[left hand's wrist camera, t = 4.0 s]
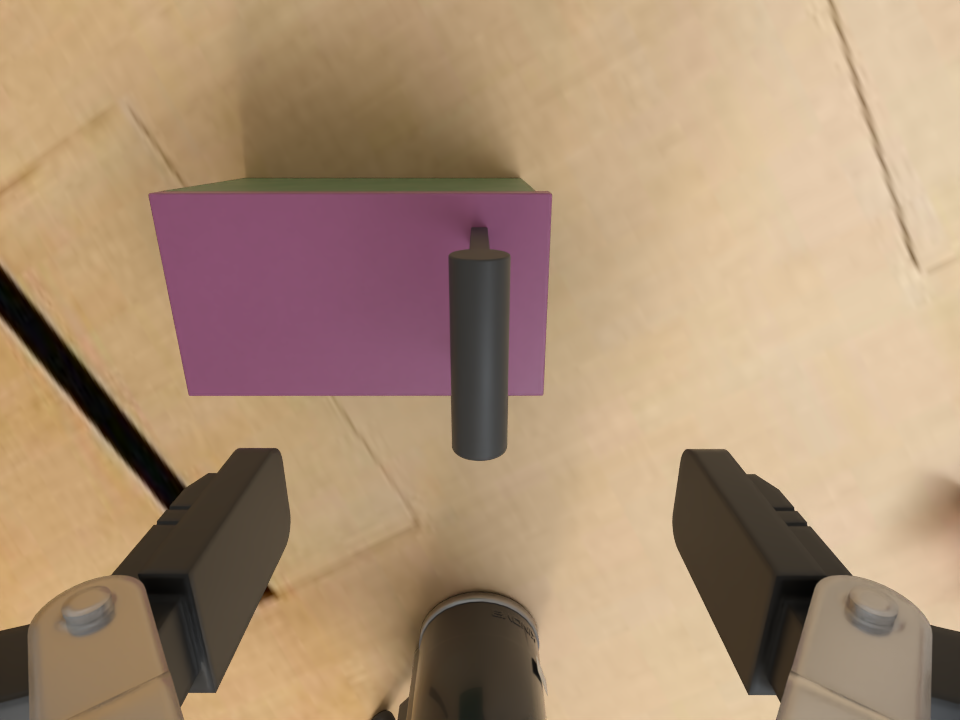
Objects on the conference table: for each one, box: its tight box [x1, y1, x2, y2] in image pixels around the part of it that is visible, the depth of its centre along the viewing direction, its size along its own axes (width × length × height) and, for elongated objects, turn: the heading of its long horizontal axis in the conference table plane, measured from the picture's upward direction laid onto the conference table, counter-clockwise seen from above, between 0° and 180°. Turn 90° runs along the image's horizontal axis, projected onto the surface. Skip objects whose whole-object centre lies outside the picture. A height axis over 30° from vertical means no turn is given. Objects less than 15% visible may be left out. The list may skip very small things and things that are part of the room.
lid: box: [149, 191, 552, 461], centre depth 22 cm, size 17×9×9 cm, turn 90°
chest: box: [167, 178, 535, 191], centre depth 30 cm, size 16×9×9 cm, turn 90°
